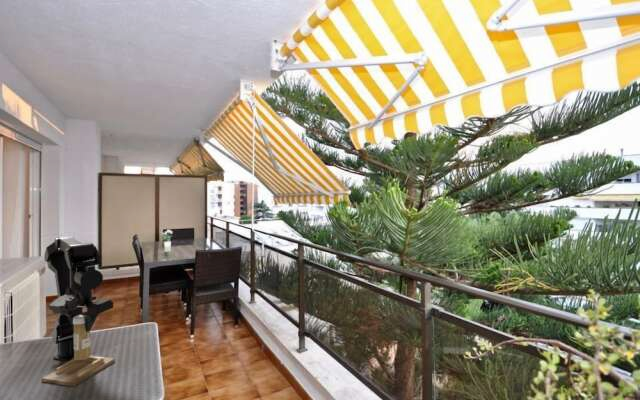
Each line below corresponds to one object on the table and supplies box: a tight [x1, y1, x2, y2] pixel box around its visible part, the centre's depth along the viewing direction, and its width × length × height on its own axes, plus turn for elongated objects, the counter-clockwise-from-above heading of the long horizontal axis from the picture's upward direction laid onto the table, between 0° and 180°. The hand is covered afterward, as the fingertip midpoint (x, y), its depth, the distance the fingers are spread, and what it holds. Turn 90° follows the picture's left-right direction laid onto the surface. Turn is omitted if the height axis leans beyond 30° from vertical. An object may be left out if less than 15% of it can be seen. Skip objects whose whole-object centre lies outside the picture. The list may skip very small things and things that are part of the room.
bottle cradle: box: [41, 354, 115, 387], centre depth 100 cm, size 12×14×2 cm
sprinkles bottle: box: [73, 314, 92, 360], centre depth 100 cm, size 5×5×13 cm
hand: (82, 330), depth 100 cm, fingers closed on sprinkles bottle, 4 cm apart
